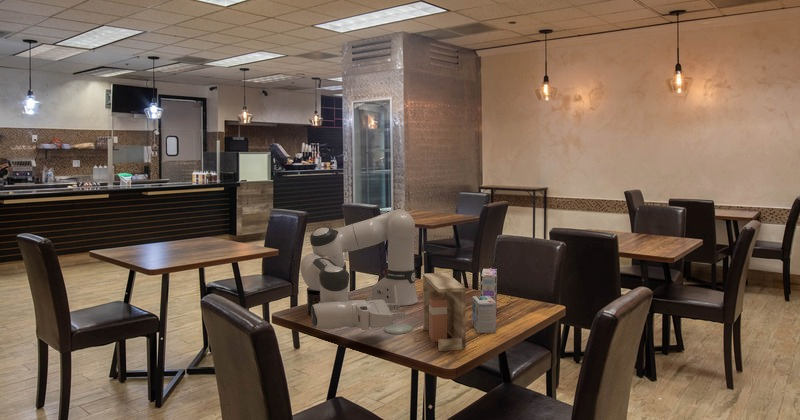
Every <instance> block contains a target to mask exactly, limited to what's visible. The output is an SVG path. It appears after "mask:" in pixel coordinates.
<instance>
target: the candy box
mask: <svg viewBox="0 0 800 420" xmlns="http://www.w3.org/2000/svg"><path fill="white" fill-rule="evenodd" d="M497 272H498V271H497V268H482V271H481V275H480V296H490V297H491V298H492V299H493V300H494V301H495V302H496V310H497V309H498V308H497V306H498V305H497V303H498V302H497V301H498V300H497V298H498V295H497V294H498V292H497V291H498V289H497V286H498V284H497V282H498V275H497V274H498V273H497Z"/></svg>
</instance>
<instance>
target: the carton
mask: <svg viewBox="0 0 800 420" xmlns="http://www.w3.org/2000/svg"><path fill="white" fill-rule="evenodd" d="M428 335H429V336H428V338H429V339H430V341H431V342H432V343H435V342H438V339H448V332H447V300H446V299H445V298H444V297H429V330H428Z"/></svg>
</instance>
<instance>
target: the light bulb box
mask: <svg viewBox="0 0 800 420" xmlns="http://www.w3.org/2000/svg"><path fill="white" fill-rule="evenodd" d="M471 299H472V300H471V301H472V302H471V303H472V304H471V305H472V306H471V312H472V313H471V319H472V320H471V325H472V327H474V329H475V331H476V333H477V334H484V333H485V334H486V333H487V334H489V333H490V334H493V333H497V309H496V302H495V301H494V300H493V299H492V298H491V297H490V296H481V295H474V296H472V297H471Z"/></svg>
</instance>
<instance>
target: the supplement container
mask: <svg viewBox="0 0 800 420" xmlns="http://www.w3.org/2000/svg"><path fill="white" fill-rule="evenodd" d="M319 302H320V291H316V290H312V289H311V288H309V287H308V286H307V288H306V303H307V311H306V312H307V315H309V314H310V315H309V316H311V306H312V305H314V304H318V303H319Z"/></svg>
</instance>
